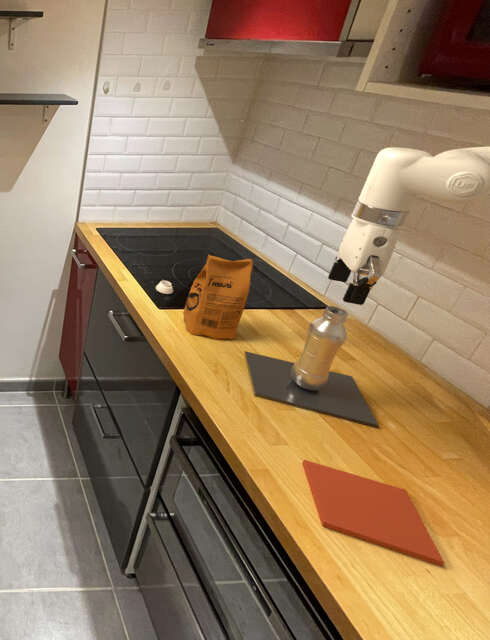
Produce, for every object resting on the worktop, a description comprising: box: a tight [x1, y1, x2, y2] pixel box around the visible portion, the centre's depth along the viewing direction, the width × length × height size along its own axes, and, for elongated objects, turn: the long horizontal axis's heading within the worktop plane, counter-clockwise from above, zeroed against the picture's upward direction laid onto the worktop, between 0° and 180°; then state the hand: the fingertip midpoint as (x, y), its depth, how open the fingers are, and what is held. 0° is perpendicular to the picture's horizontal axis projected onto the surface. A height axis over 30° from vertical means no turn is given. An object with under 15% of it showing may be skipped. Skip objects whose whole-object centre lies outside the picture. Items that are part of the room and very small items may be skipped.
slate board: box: [243, 350, 380, 429], centre depth 102 cm, size 22×16×1 cm
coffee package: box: [182, 254, 254, 340], centre depth 118 cm, size 10×12×22 cm
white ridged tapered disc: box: [155, 280, 174, 295], centre depth 140 cm, size 5×3×5 cm
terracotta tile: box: [302, 459, 445, 567], centre depth 75 cm, size 15×13×1 cm
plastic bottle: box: [291, 305, 349, 391], centre depth 98 cm, size 6×7×20 cm
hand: (344, 291), depth 92 cm, fingers open, 9 cm apart
